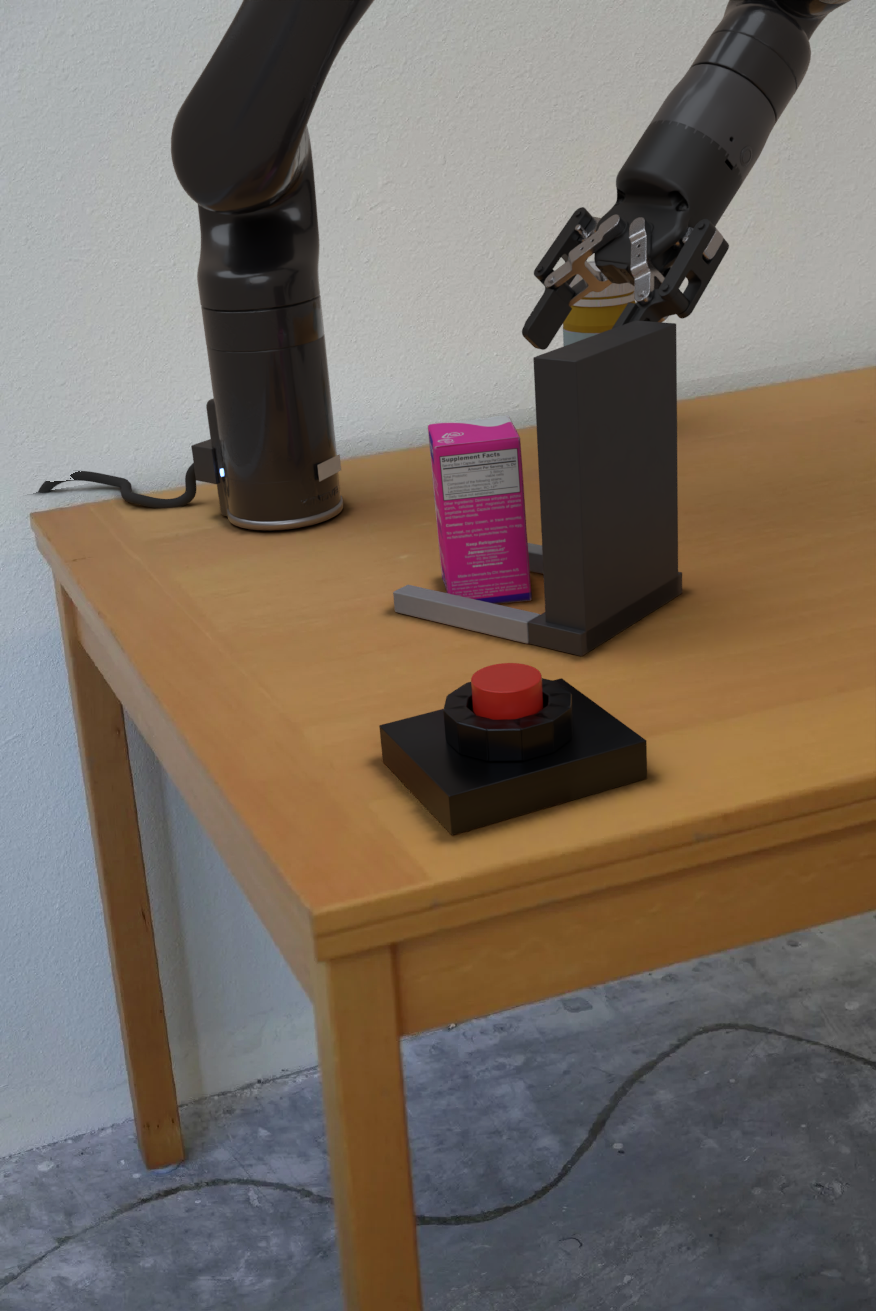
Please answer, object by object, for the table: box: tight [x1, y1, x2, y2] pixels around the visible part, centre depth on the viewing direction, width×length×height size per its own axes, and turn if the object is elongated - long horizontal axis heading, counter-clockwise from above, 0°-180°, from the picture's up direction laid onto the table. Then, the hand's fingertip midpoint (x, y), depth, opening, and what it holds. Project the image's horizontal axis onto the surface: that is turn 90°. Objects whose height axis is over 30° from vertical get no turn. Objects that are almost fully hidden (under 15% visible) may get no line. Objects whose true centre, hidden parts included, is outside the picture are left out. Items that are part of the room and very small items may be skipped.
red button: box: [470, 662, 543, 720], centre depth 75 cm, size 4×4×2 cm
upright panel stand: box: [392, 320, 683, 657], centre depth 95 cm, size 15×12×18 cm
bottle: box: [562, 260, 636, 347], centre depth 134 cm, size 7×7×15 cm
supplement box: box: [427, 414, 533, 605], centre depth 99 cm, size 6×6×12 cm
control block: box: [379, 677, 648, 836], centre depth 76 cm, size 11×9×4 cm
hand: (570, 351), depth 99 cm, fingers open, 8 cm apart
